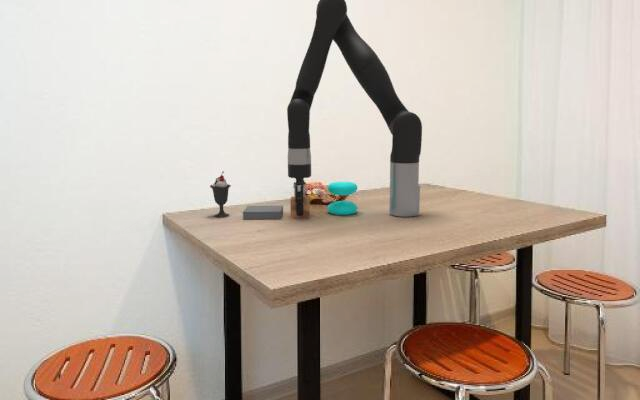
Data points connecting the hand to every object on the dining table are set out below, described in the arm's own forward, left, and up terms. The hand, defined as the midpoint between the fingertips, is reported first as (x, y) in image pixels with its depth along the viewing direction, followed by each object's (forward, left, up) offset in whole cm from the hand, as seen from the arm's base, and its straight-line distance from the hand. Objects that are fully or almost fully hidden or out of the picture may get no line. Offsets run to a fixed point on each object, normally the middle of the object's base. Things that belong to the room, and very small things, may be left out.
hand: (300, 213), depth 158 cm
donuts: (-14, -5, -1) cm, 15 cm away
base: (+12, -1, -1) cm, 12 cm away
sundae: (+26, -2, -1) cm, 26 cm away
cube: (0, 0, -1) cm, 1 cm away
